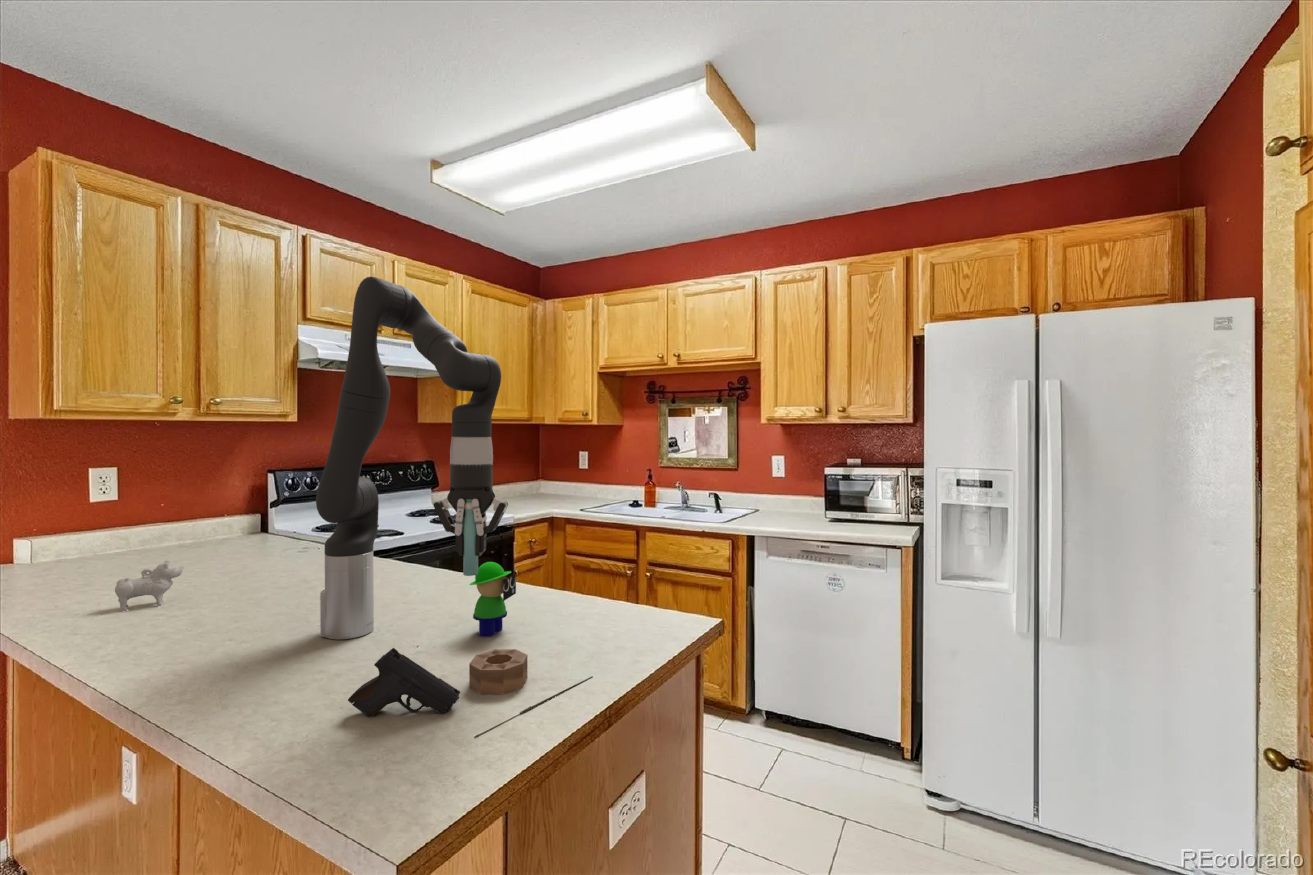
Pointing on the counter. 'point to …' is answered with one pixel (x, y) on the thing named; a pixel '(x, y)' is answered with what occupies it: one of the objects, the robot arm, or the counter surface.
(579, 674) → the counter surface
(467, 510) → the teal capped tube
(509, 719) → the paintbrush
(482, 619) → the toy
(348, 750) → the counter surface
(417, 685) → the handgun
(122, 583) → the grey pig charm
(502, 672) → the bead
